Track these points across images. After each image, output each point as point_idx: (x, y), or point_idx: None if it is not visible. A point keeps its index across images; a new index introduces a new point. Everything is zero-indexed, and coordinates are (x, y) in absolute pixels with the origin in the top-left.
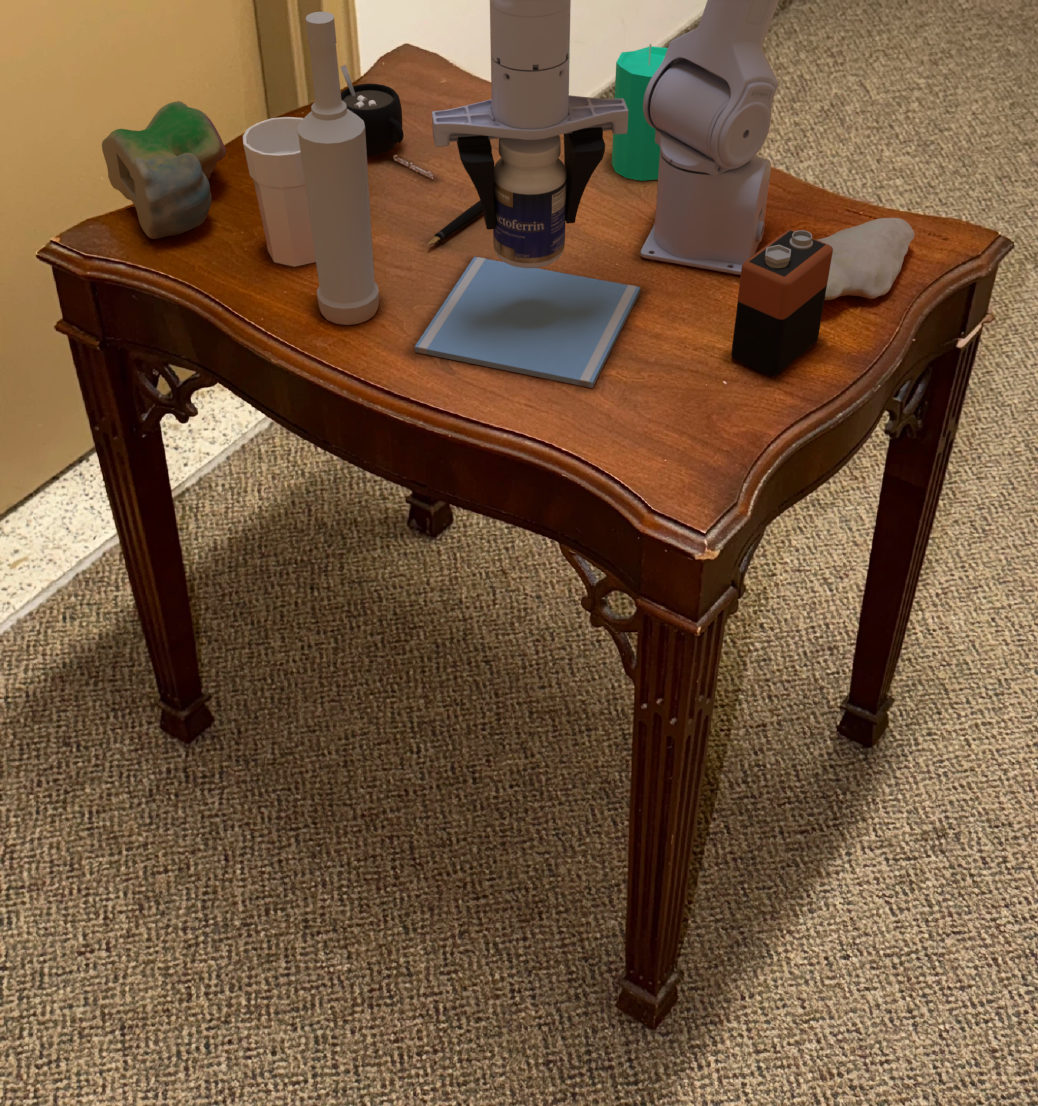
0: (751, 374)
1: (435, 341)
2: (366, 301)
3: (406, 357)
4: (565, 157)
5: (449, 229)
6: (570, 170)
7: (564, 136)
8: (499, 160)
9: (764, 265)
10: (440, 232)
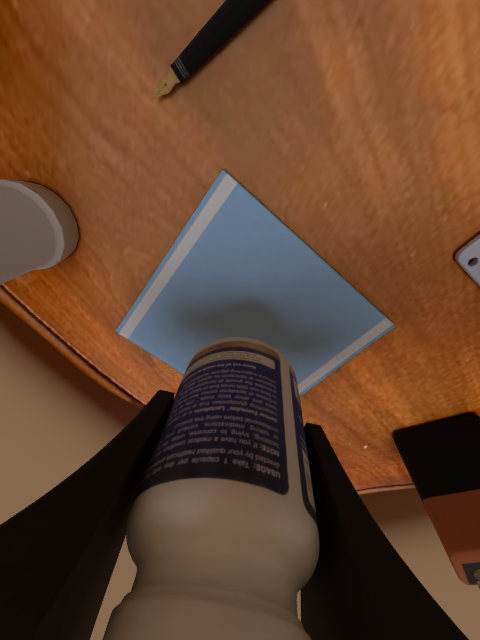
0: (392, 447)
1: (137, 332)
2: (49, 265)
3: (110, 330)
4: (339, 556)
5: (199, 57)
6: (310, 595)
7: (368, 631)
8: (138, 542)
9: (470, 571)
10: (180, 67)
